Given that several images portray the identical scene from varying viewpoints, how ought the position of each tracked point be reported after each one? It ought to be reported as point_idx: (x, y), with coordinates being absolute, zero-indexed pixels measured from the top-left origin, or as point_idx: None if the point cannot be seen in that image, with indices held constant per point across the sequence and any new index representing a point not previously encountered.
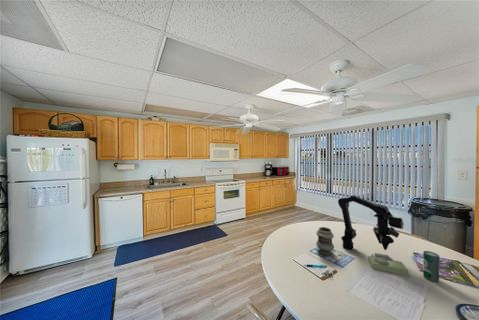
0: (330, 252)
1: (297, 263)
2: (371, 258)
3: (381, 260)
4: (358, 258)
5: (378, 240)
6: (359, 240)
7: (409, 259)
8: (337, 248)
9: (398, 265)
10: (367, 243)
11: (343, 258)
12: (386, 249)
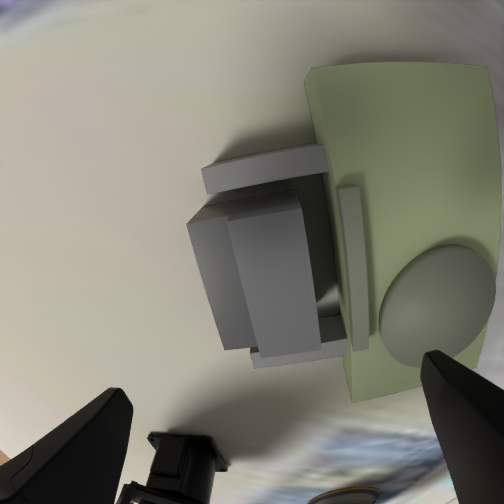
0: (346, 497)
1: (456, 498)
2: (400, 380)
3: (441, 314)
4: (336, 414)
5: (119, 464)
6: (11, 363)
7: (61, 22)
8: (252, 483)
9: (446, 137)
10: (6, 324)
11: (377, 458)
12: (447, 356)
